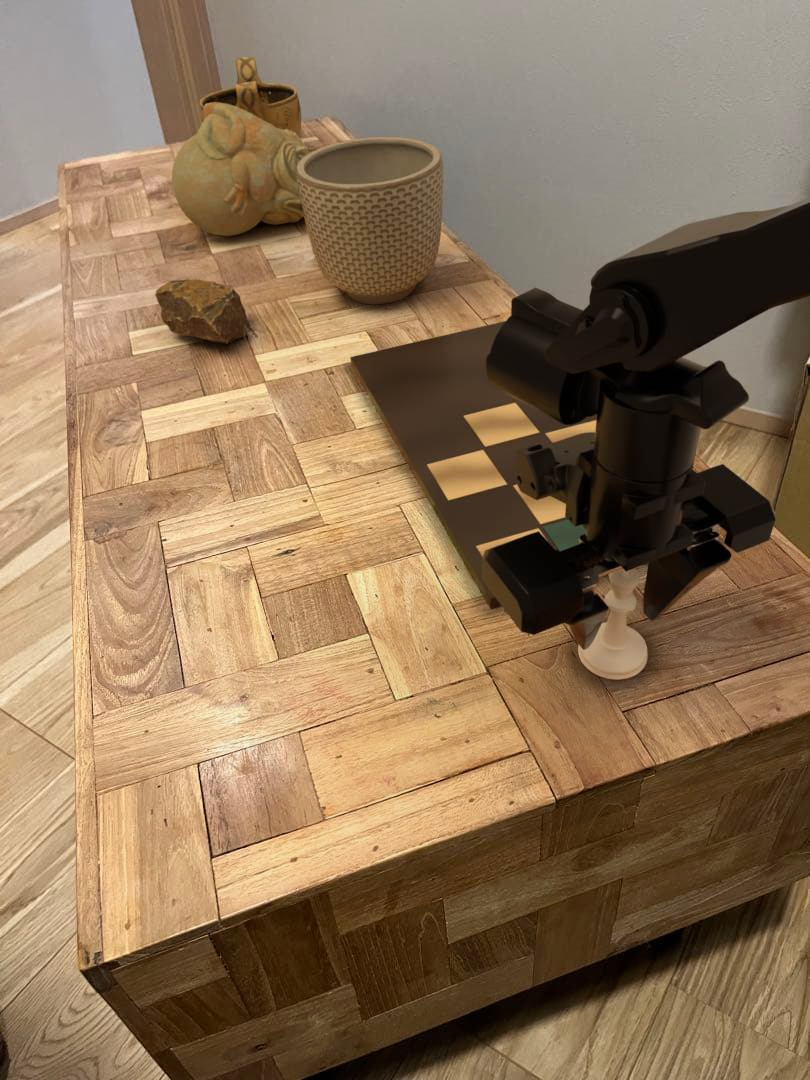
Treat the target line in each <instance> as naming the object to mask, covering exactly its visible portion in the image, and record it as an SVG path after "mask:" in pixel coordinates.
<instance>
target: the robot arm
mask: <svg viewBox="0 0 810 1080" xmlns="http://www.w3.org/2000/svg"><path fill="white" fill-rule="evenodd" d="M590 286H591V289H590V293H589V296H588V297H589V301H588V303H589V304H588V305H587V306H586V307H585V308H584V309H581V308H578V307H576V306H574V305H571V304H569V303H566V302H564V301H561V300H559V298H557V297H555V296H554V295H552V294H551V293H549V292H547V291H545V290H542V289H540V288H538V287H534V288H531V289H530V290H527V291H525V292H523V293H521V294H519V295H517V296H515V297H513V298H512V299H511V301H510V302H511V303H510V304H511V305H510V316H508V318H507V319H506V320H505V321H506V322H505V323H504V324H503V325H502V327H501V328H500V330H499V332H498V333H497V335H496V337H495V340H494V342H493V344H492V347H491V351H490V354H488V356H487V358H486V371H487V377H488V379H489V381H490V383H491V384H492V385H493V387H494V388H496V389H498V390H500V391H502V392H503V393H505V394H507V395H509V396H511V397H513V398H515V399H517V400H519V401H520V402H522V403H524V404H526V405H528V406H530V407H532V408H534V409H536V410H537V411H539V412H541V413H543V414H545V415H547V416H549V417H551V418H553V419H554V420H556V421H558V422H560V423H562V424H565V425H573V424H575V423H578V422H580V421H582V420H584V419H585V418H586V417H591V416H594V415H596V414H597V420H596V429H595V432H587V433H581V434H578V435H575V436H572V437H569V438H566V439H563V440H560V441H557V442H554V443H551V444H548V445H545V446H542V445H541V444H535V445H532V446H529V447H526V448H523V449H520V450H517V455H516V464H515V473H516V479H517V485H518V487H519V489H520V491H521V492H522V493H524V494H526V495H528V496H529V497H531V498H533V499H535V500H539V499H542V498H545V497H548V496H551V497H553V498H555V499H557V500H559V501H561V502H563V503H565V504H566V511H565V517H566V518H567V519H568V520H569V521H570V522H571V523H572V524H573V525H574V526H575V527H577V526H579V525H582V526H583V527H584V528H585V534H584V535H581V536H580V537H579V543H580V544H578V545H576V546H573V547H570V548H568V549H565V550H562V551H559V550H558V549H557V550H555V549H554V548H553V547H552V546H551V545H550V543H549V542H548V541H547V540H546V539H545V538H544V537H543V536H542V534H541V533H540V532H539V531H538V532H535V533H531V534H528V535H526V536H523V537H520V538H517V539H515V540H512V541H509V542H506V543H504V544H501V545H498V546H496V547H493V548H490V549H487V550H485V552H484V555H483V558H482V580H483V581H484V583H485V584H486V585H487V587H488V588H489V589H490V591H491V592H492V593H493V595H494V596H495V597H496V599H497V600H498V601H499V603H500V604H501V605H500V606H501V607H502V608H503V610H504V611H505V612H506V614H507V615H508V617H509V618H510V619H511V620H512V621H513V623H514V624H515V626H516V627H517V628H518V630H519V631H520V632H521V633H524V634H528V635H533V636H535V635H538V634H540V633H542V632H545V631H548V630H551V629H553V628H555V627H558V626H560V625H562V624H565V625H568V626H569V628H570V631H571V633H572V636H573V637H574V640H575V641H576V643H577V644H578V646H579V645H580V646H581V648H582V649H583V650H585V649H587V648H589V646H590V645H591V644H592V642H593V641H594V639H595V637H596V635H597V633H598V630H599V628H600V626H601V624H602V623H604V620H605V618H606V617H607V614H608V612H609V610H610V609H609V607H608V606H607V605H606V603H605V601H604V599H602V598H601V596H600V595H599V594H598V593H597V587H598V586H599V581H600V578H602V577H604V576H607V575H609V574H610V573H612V572H615V571H617V570H620V569H624V570H625V571H629V570H631V569H636V567H637V568H640V567H641V566H644V565H646V564H647V567H646V568H647V569H646V576H645V583H644V589H643V598H642V612H643V614H644V616H645V617H646V618H647V619H648V620H649V621H651V622H655V621H657V620H658V619H659V618H661V616H663V615H665V613H666V612H667V611H668V610H670V608H672V607H673V606H675V604H676V603H678V602H679V601H680V600H681V599H682V598H683V597H684V596H686V595H687V594H688V593H689V592H690V591H691V590H693V589H694V588H695V587H696V586H698V585H699V584H700V583H701V582H702V581H704V580H705V579H706V578H707V577H709V576H710V575H712V574H713V573H714V572H715V571H716V570H718V569H719V568H720V567H722V566H724V565H726V564H728V563H729V562H730V561H731V559H732V552H731V551H730V550H732V551H734V552H735V553H736V554H739V553H741V552H744V551H747V550H749V549H752V548H754V547H756V546H759V545H761V544H764V543H767V542H769V541H770V538H771V535H772V532H773V529H774V526H775V524H776V523H775V522H776V519H777V518H776V516H777V515H776V511H775V509H774V506H773V503H772V501H770V500H769V499H768V498H767V497H765V496H764V495H763V494H761V493H760V492H759V490H757V489H755V488H754V487H753V486H752V485H750V484H749V483H747V482H746V481H745V480H744V479H743V478H742V477H740V476H739V475H737V474H736V473H735V472H734V471H732V469H730V468H729V467H727V466H726V465H725V464H724V463H721V464H718V465H715V466H711V467H709V468H706V469H703V470H700V471H698V472H696V470H694V464H695V458H696V453H697V449H698V444H699V439H700V435H701V431H702V430H709V429H711V428H712V427H714V426H715V425H717V424H718V423H720V422H721V421H723V420H724V419H726V418H727V417H729V416H730V415H731V414H733V413H734V412H736V411H737V410H739V409H740V408H741V407H743V406H744V405H746V404H747V403H748V402H749V400H750V395H749V392H747V390H746V389H745V387H744V386H743V385H742V383H741V382H740V381H739V380H738V379H736V378H735V377H733V375H731V373H730V372H729V371H728V369H727V366H726V363H725V362H724V361H723V360H715V361H714V362H712V363H710V364H709V365H707V366H704V365H702V364H701V363H700V364H699V363H697V362H695V361H692V360H690V359H687V358H686V357H684V356H687V355H689V354H690V353H692V352H694V351H696V350H698V349H700V348H702V347H704V346H705V345H707V344H709V343H710V342H712V341H714V340H716V339H718V338H719V337H721V336H723V335H725V334H727V333H729V332H730V331H732V330H734V329H736V328H737V327H739V326H741V325H743V324H745V323H746V322H748V321H750V320H752V319H754V318H755V317H757V316H759V315H762V314H763V313H765V312H767V311H769V310H771V309H774V308H776V307H779V306H782V305H787V304H789V303H793V302H795V301H798V300H802V299H805V298H808V297H810V196H808V197H807V198H806V197H805V198H804V199H801V200H799V201H797V202H794V203H792V204H789V205H786V206H779V207H776V208H775V207H774V208H770V209H768V210H767V209H765V210H755V211H754V210H753V211H739V212H734V213H730V214H725V215H721V216H716V217H711V218H707V219H703V220H697V221H693V222H689V223H687V224H684V225H681V226H680V227H677V228H674V229H673V230H671V231H669V232H667V233H666V234H663V235H662V236H659V237H657V238H655V239H653V240H651V241H649V242H646V243H645V244H643V245H641V246H639V247H637V248H635V249H633V250H631V251H629V252H627V253H625V254H623V255H621V256H618V257H617V258H615V259H613V260H610V261H609V262H607V263H605V264H604V265H603V266H601V267H600V268H599V269H598V270H596V272H595V273H594V274H593V276H592V278H591V279H590ZM719 528H721V529H723V530H724V531H725V532H726V534H725V537H724V539H723V540H724V541H723V543H724V545H723V544H722V543H721V542H720V541H719V540H720V539H719V538H720V533H719V532H718V531H719ZM715 531H716V532H715ZM725 545H726V546H727V547H728V548H729V549H730V550H729V549H728V548H727V547H726V546H725ZM639 566H640V567H639Z"/></svg>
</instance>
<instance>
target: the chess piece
mask: <svg viewBox="0 0 810 1080" xmlns="http://www.w3.org/2000/svg"><path fill="white" fill-rule="evenodd" d="M640 567H641V566H639V567H636V568H640ZM636 568H634V569H631V570H629V571H625V570H624V569H620V570H617V571H615V572H612V573H610V574H608V581H609V584H610V586H611V589H610V590H609V591H607V593H606V594H605V596H604V599H603V601H604V602H605V603H606V605H607V606H608V607H609V610H610V613H609V616H608V618H607V621H606V622H602V624H601V626H600V628H599V630H598V633H597V635H596V637H595V639H594V641H593V642H592V644H591V645H590V646H589V648H587V649H585V650H583V649H582V648H581V646H580V645H579V644H578V647H577V653H578V657H579V659H580V662H581V663H582V665H583V666H584V668H586V669H587V670H588V671H590V673H593V674H594V675H596V676H598V677H600V678H603V679H608V680H626V679H629V678H633V677H635V676H636V675H639V673H641V671H643V670H644V668H645V667H646V665H647V662H648V647H647V643H646V641H645V639H644V638H643V636H642V635H641V634H640V633H639V632H638V631H637V630H635V629H634V628H632V627H630V626H628V623H627V617H628V615H627V614H628V613H629V612H632V611H633V610H634V609H635V608H636V606H637V598H636V596H635V594H634V593H633V591H634V590H635V588H637V586H638V585H639V583H640V580H641V575H640V573H639V572H638V571H637V570H636Z"/></svg>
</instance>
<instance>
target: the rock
mask: <svg viewBox="0 0 810 1080" xmlns="http://www.w3.org/2000/svg"><path fill="white" fill-rule="evenodd" d="M236 291H237V290H235V288H234V287H233V286H231V285H229V284H223V283H218V282H216V281H211V280H209V281H208V280H202V279H177V280H170V281H167V282H166V283H165V284H163V285H161V286H160V287H158V288H156V290H155V294H154V295H155V298H156V301H157V303H158V305H159V307H160V309H161V311H160V318H161V319H162V321H163V323H164V324H165V325H166V326H167V327H168V329H169V331H170V332H171V333H174V334H177V335H181V336H184V337H191V338H194V337H196V338H199V339H202V340H207V341H209V342H212V343H213V342H214V343H221V344H229V343H232V342H234V341H236V339H240V338H243V337H245V336H246V330H245V328H244V323H245V322H246V319H247V312H246V309H245V307H244V305H243V303H242V300H241V296H240V294H238V292H236Z"/></svg>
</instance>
